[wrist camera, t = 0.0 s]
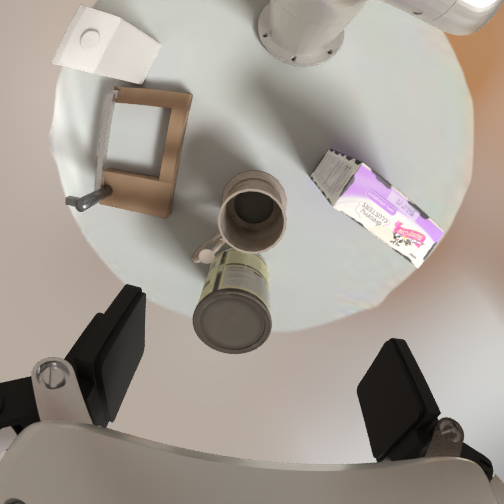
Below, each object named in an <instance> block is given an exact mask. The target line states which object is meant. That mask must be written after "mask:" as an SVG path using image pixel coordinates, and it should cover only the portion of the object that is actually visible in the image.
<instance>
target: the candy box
mask: <svg viewBox="0 0 504 504" xmlns="http://www.w3.org/2000/svg"><path fill="white" fill-rule="evenodd" d="M310 178H311V179H312V181H313V182H314V183H315V184H316V186H317V187H318V188H319V189H320V191H321V192H322V193H323V195H324V196H325V198H326V199H327V200H328V201H329V203H330V204H331V205H332V206H333V207H334V208H335V209H337V210H338V211H341V212H342V213H344V214H345V215H347V216H348V217H350V218H351V219H352V220H354V221H355V222H357V223H358V224H359V225H361V226H362V227H364V228H365V229H366V230H368V231H369V232H370V233H372V234H373V235H374V236H376V237H377V238H378V239H380V240H381V241H382V242H384V243H385V244H386V245H388V246H389V247H390V248H392V249H393V250H395V251H396V252H397V253H399V254H400V255H401V256H403V257H404V258H405V259H407V260H408V261H409V262H410V263H412V264H413V265H414V266H415V267H416V268H419V267H420V265H421V264H422V263H423V261H424V260H425V258H426V257H427V256H428V255H429V253H430V252H431V250H432V249H433V247H434V246H435V245H436V243H437V242H438V241H439V239H440V238H441V236H442V235H443V233H444V231H443V230H442V229H441V227H440V226H438V225H437V224H436V223H435V222H434V221H433V220H432V219H431V218H430V217H429V216H428V215H427V214H426V213H425V212H423V211H422V210H421V209H420V208H419V207H418V206H417V205H416V204H414V203H413V202H412V201H411V200H410V199H409V198H407V197H406V196H405V195H404V194H403V193H401V192H400V191H399V190H398V189H397V188H395V187H394V186H393V185H392V184H390V183H389V182H388V181H386V180H385V179H384V178H383V177H381V176H380V175H379V174H378V173H376V172H375V171H374V170H372V169H371V168H370V167H368V166H367V165H366V164H364V163H363V162H361V161H358V160H356V159H354V158H351V157H349V156H347V155H344V154H342V153H339V152H337V151H334V150H332V149H329V150H328V151H327V153H326V154H325V156H324V157H323V158H322V160H321V161H320V163H319V164H318V166H317V167H316V168H315V170H314V171H313V173H312V174H311V176H310Z"/></svg>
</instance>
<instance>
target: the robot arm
mask: <svg viewBox="0 0 504 504" xmlns="http://www.w3.org/2000/svg"><path fill="white" fill-rule="evenodd" d="M366 1H367V0H270V2H269V3H268V4H267V5H266V6H265V7H264V9H263V10H262V12H261V14H260V16H259V20H258V32H259V37H260V39H261V41H262V43H263V45H264V46H265V48H266V49H267V50H268V51H269V52H270V53H271V54H272V55H273V56H275V57H276V58H278V59H279V60H281V61H284V62H286V63H289V64H292V65H297V66H313V65H318V64H321V63H323V62H326V61H327V60H329V59H330V58H332V57H333V56H334V55H335V54H336V53H337V52H338V50H339V49H340V47H341V45H342V43H343V39H344V28H345V27H346V26H347V25H348V24H349V23H350V22H351V21H352V19H353V18H354V17H355V16H356V15H357V14H358V13H359V12H360V11H361V9H362V8H363V7H364V5H365V3H366ZM381 1H383V2H385V3H387V4H390V5H392V6H394V7H396V8H399V9H401V10H403V11H405V12H407V13H409V14H411V15H413V16H415V17H417V18H419V19H421V20H423V21H425V22H426V23H428V24H430V25H432V26H434V27H436V28H438V29H440V30H442V31H445V32H447V33H450V34H454V35H467V34H471V33H474V32H476V31H478V30H479V29H481V27H483V26H484V25H485V24H486V23H487V22H488V21H489V20H490V19H491V18H492V17H493V15H494V14H495V13H496V12H497V10H498V9H499V7H500V6H501V4H502V3H503V1H504V0H381ZM264 35H266V36H267V37H263V36H264ZM327 52H330V54H328V53H327ZM292 58H294V59H295V61H292ZM145 308H146V293H143V292H142V289H141V288H140V287H136V286H132V285H129V284H126V285H125V286H124V287H123V289H122V290H121V291H120V293H119V294H118V296H117V297H116V298H115V299H114V301H113V302H112V304H111V305H110V306H109V308H108V309H107V310H106V312H105V313H104V314H103V313H97V314H96V315H95V316H94V318H93V319H92V321H91V322H90V323H89V325H88V326H87V328H86V329H85V330H84V332H83V333H82V334H81V336H80V337H79V339H78V340H77V341H76V343H75V344H74V346H73V347H72V349H71V350H70V352H69V353H68V354H67V356H66V357H65V359H62V358H56V357H48V358H45V359H42V360H41V361H39V362H37V364H36V365H35V366H34V367H33V370H32V376H30V377H26V378H21V379H17V380H12V381H7V382H3V383H0V453H2V452H3V451H5V450H7V451H6V453H5V455H4V456H3V458H2V460H1V462H0V504H504V483H503V482H502V481H501V480H500V479H499V478H498V476H497V475H493V466H492V463H491V461H490V460H489V459H488V458H486V457H485V456H484V455H482V454H481V453H479V452H478V451H476V450H475V449H473V448H471V447H470V446H468V445H467V444H465V443H464V442H463V440H464V432H463V429H462V427H461V426H460V424H459V423H458V422H456V421H455V420H454V419H451V418H448V417H445V418H441V419H440V420H438V418H437V417H438V416H439V415H440V414H441V412H440V410H439V408H438V406H437V404H436V401H435V399H434V397H433V395H432V393H431V391H430V388H429V387H428V384H427V382H426V380H425V378H424V376H423V374H422V372H421V370H420V368H419V366H418V364H417V362H416V360H415V358H414V356H413V355H412V353H411V351H410V349H409V347H408V345H407V343H406V342H405V340H403V339H396V338H391V339H390V340H389V341H386V342H385V343H384V345H383V347H382V348H381V350H380V352H379V353H378V355H377V357H376V358H375V360H374V361H373V363H372V365H371V366H370V368H369V369H368V371H367V373H366V374H365V376H364V377H363V379H362V380H361V382H360V383H359V385H358V387H357V395H358V398H359V402H360V406H361V410H362V413H363V417H364V421H365V425H366V429H367V433H368V437H369V441H370V445H371V449H372V453H373V456H374V458H376V460H377V463H362V464H294V463H278V462H267V461H257V460H249V459H240V458H233V457H227V456H220V455H214V454H209V453H203V452H199V451H194V450H188V449H184V448H180V447H175V446H171V445H167V444H162V443H159V442H155V441H151V440H147V439H144V438H140V437H137V436H133V435H129V434H126V433H122V432H119V431H115V430H112V429H108V428H106V427H107V425H108V422H109V421H110V422H113V421H114V420H115V418H116V415H117V413H118V411H119V408H120V406H121V403H122V401H123V399H124V396H125V394H126V392H127V389H128V387H129V385H130V382H131V380H132V378H133V376H134V373H135V371H136V369H137V366H138V364H139V362H140V360H141V358H142V355H143V352H144V346H145ZM98 425H99V426H98ZM100 426H101V427H100ZM492 475H493V476H492Z"/></svg>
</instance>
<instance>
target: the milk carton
mask: <svg viewBox="0 0 504 504" xmlns="http://www.w3.org/2000/svg"><path fill="white" fill-rule="evenodd" d="M161 47H162V45H161V44H160V43H158V42H157V41H155V40H154V39H152V38H151V37H149V36H148V35H146V34H145V33H144V32H142V31H141V30H139V29H137V28H136V27H134V26H133V25H131V24H130V23H128V22H127V21H125V20H123V19H122V18H120V17H117V16H114V15H111V14H108V13H105V12H102V11H99V10H96V9H93V8H89V7H86V6H84V5H82V4H80V6H79V8H78V9H77V11H76V13H75V15H74V17H73V19H72V20H71V22H70V24H69V26H68V28H67V30H66V32H65V34H64V36H63V39H62V40H61V43H60V45H59V47H58V49H57V51H56V53H55V56H54V58H53V61H52V64H56V65H61V66H65V67H69V68H73V69H77V70H81V71H85V72H89V73H92V74H97V75H102V76H107V77H111V78H116V79H120V80H124V81H128V82H132V83H136V84H140V85H142V84H143V82H144V80H145V78H146V76H147V74H148V72H149V70H150V68H151V66H152V64H153V62H154V60H155V58H156V56H157V55H158V53H159V51H160V49H161Z"/></svg>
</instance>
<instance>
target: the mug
mask: <svg viewBox="0 0 504 504" xmlns="http://www.w3.org/2000/svg"><path fill="white" fill-rule="evenodd" d="M247 191H256V192H261V193H264V194H266V195H268V196H270V197H271V198H272V199H273V203H274V204H273V211H272V213H271V215H270V216H269V218H268V219H267V220H265V221H263V222H261V223H258V224H250V223H247V222H244V221H243V220H242V219H240V218H239V216H238V215H237V214H236V211H235V208H234V202H235V199H236V196H237V195H238V194H239V193H243V192H247ZM286 203H287V199H286V195H285V191H284V189H283V187H282V186H281V184H280V183H279V181H278V180H276V179H275V178H274V177H273V176H271V175H270V174H267V173H264V172H261V171H248V172H244V173H240V174H239V175H237V176H236V177H234V178H233V179H231V181H230V182H229V183H228V185H227V186H226V187H225V190H224V193H223V196H222V205H221V208H220V211H219V214H218V228H219V232H218V233H217V234H215V235H214V236H213V237H211V238H210V239H209V240H208V241H206V242H205V243H204V244H203V245H202V246H201V247H199V248H198V250H197V251H196V252H195V253H194V255H193V256H192V261H193V262H194V263H199V262H203V263H205V264H209V263H212V262H213V261H214V259H215V253H216V252H217V251H218V250H219V249H220V247H221V246H222V245H224V244H225V243H227V244H228V245H230V246H231V247H232V248H234V249H235V250H237V251H240V252H243V253H248V254H257V253H262V252H266V251H268V250H269V249H271V248H273V247H274V246H275V245H276V244H277V243H278V242H279V241H280V240H281V239H282V237H283V234H284V232H285V230H286V220H287V219H286V215H285V211H286ZM215 241H216V245H215V246H214V247H212V248H211V249H206V248H207V247H208V246H210V245H211V244H212V243H213V242H215ZM198 256H199V257H198Z"/></svg>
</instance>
